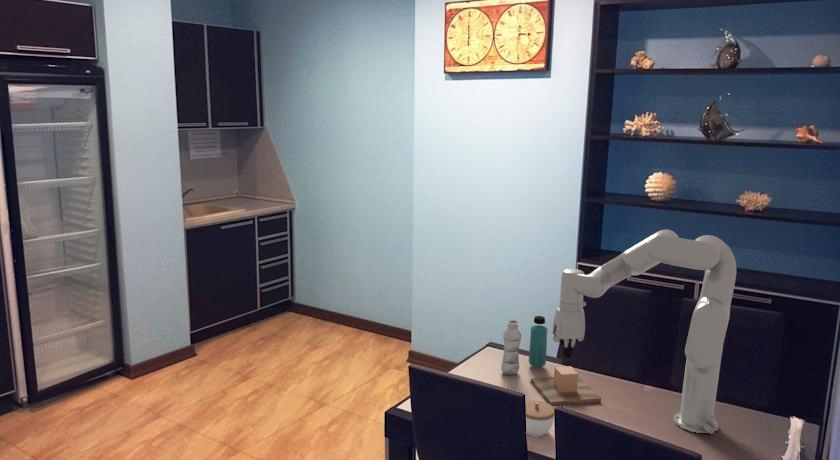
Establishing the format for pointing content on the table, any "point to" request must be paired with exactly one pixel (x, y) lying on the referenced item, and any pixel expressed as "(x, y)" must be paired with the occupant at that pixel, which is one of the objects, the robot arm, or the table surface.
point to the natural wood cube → (565, 379)
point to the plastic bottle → (511, 349)
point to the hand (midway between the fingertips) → (566, 356)
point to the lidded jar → (538, 417)
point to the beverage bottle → (538, 343)
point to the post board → (564, 398)
